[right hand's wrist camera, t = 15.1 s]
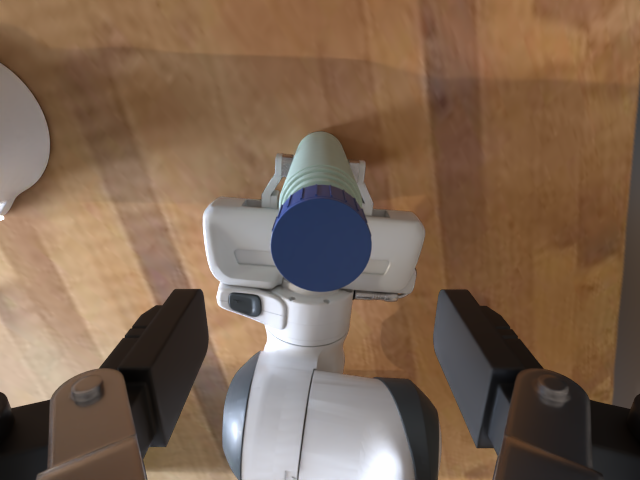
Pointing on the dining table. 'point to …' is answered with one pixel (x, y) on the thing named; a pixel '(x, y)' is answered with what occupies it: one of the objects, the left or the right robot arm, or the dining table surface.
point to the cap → (321, 239)
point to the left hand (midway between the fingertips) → (320, 157)
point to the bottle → (320, 167)
